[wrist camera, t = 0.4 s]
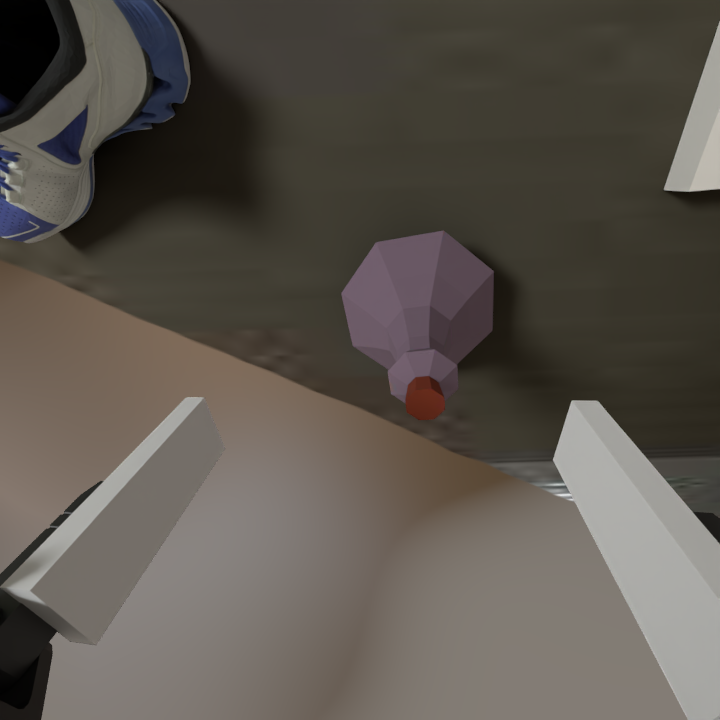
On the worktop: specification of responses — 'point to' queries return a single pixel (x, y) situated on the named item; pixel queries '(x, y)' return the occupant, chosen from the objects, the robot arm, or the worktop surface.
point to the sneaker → (76, 99)
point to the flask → (420, 314)
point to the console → (701, 133)
